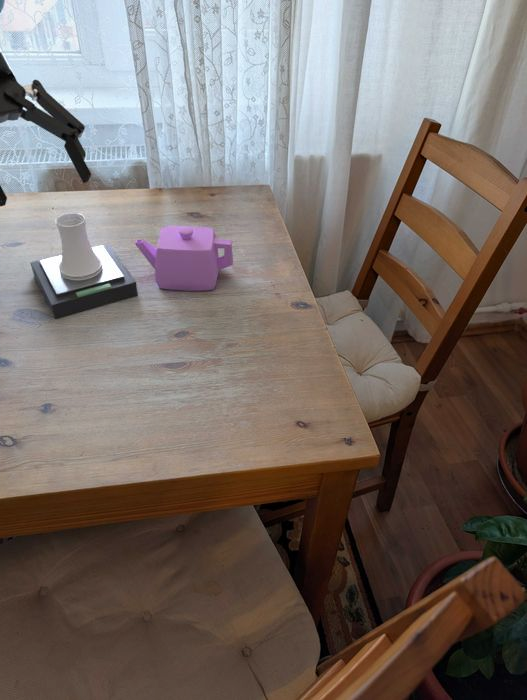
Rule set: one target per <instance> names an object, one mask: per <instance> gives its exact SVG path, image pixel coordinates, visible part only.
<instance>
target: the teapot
mask: <svg viewBox="0 0 527 700" xmlns="http://www.w3.org/2000/svg"><path fill="white" fill-rule="evenodd" d="M134 245H135V247H137V248H138V250H139V251H140V253H141V254H142V255H143V257H145V259H146V260H147V261H148V263H149V264H150V266H151V267H153V269H154V273H155V281H156V284H157V286H158V288H160V289H162V290H172V291H184V292H186V291H187V292H200V291H205V292H206V291H213V290H215V288H216V284H217V282H218V275H219V271H221V270H222V271H223V270H224V269H226V268H229V267H231V266H233V265H234V255H233V244H232V239H225V238H217V237H216V232H215V229H214V228H212V227H208V226H207V227H205V226H197V225H196V226H195V225H194V226H193V225H165V226H162V227H161V230H160V233H159V237H158V241H157V243H156V248H155V247H154V246H153V245H151V244H150V243H149V242H148V241H145V240H144V238H140V239H136V240H135V242H134ZM219 249H223V255H222V256H220V257H219Z"/></svg>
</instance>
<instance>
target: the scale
mask: <svg viewBox="0 0 527 700" xmlns="http://www.w3.org/2000/svg"><path fill="white" fill-rule="evenodd" d="M92 249H93V251H94V253H95V254H96V256H97V257H99V258H100V259H101V261H102V266H103V268H102V271H101V272H100V273H99V274H98V275H96V276H95V277H93V278H90V279H86V280H79V281H76V280H69V279H66V278H64V277H63V276H61V274H60V270H59V264H60V262H61V260H62V254H60V255H55V256H51V257H47V258H43V259H39V260H35V261H31V262H30V266H31V269H32V273H33V277H34V278H35V281H36V282H37V284H38V287H39V288H40V290H41V293H42V295H43V297H44V299H45V301H46V303H47V305H48V307H49V310H50V311H51V313H52V315H53V317H54V319H55V320H56V319H60V318H63V317H64V318H65V317H66V316H71V315H75V314H78V313H81V312H85V311H88V310H92V309H95V308H99V307H102V306H106V305H110V304H112V303H115V302H119V301H122V300H127V299H130V298H133V297H138V296H139V294H138V287H137V282H136V280H135V279H134V277H133V275H132V274H131V273H130V271H129V270H128V269H127V267H126V266H125V265H124V263H123V262H122V260H121V259H120V258H119V256H118V255H117V253H116V252H115V250H114V249H113V248H112V247H111V245H110V243H106V244H101V245H97V246H93V247H92Z"/></svg>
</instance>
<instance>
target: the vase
mask: <svg viewBox="0 0 527 700" xmlns="http://www.w3.org/2000/svg"><path fill="white" fill-rule="evenodd" d="M54 221H55V224H56V226H57V229H58V233H59V236H60V241H61V255H62V260H61V262H60V264H59V270H60V274H61V276H63V277H64V278H66V279H69V280H76V281H79V280H86V279H90V278H93V277H95V276H96V275H98V274H99V273H100V272H101V271H102V268H103V266H102V261H101V259H100V258H99V257H97V256H96V254H95V253H94V251H93V249H92V248H93V247H92V245H91V243H90V240H89V237H88V233H87V227H86V226H87V225H86V217H85V215H84V214H83V213H78V212H68V213H67V212H66V213H64V214H61V215H59V216H57V217H56V218H55V220H54Z"/></svg>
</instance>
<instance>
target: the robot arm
mask: <svg viewBox="0 0 527 700" xmlns="http://www.w3.org/2000/svg"><path fill="white" fill-rule="evenodd" d="M5 1H6V0H0V16H1V15H2V13H3V11H4V8H5ZM26 97H29V98H30V99H31V100H32V101H33V102H35V101H36V103H37V104H38V105H39V106H40V108H39V107H37V106H36V105H35V104H34V103H33V102H32V101H31V100H29V99H28V98H26ZM41 108H42V109H43V110H44V111H43V110H42V109H41ZM19 118H21V119H22V120H23V121H26V122H31V123H33V124H34V125H36V126H38V127H39V128H41V129H43V130H45V132H48V133H50V134H52V135H53V136H55V137H56V138H58V139H60V140H62V141H64V145H63V147H64V149H65V151H66V153H67V156H68V158H69V159H70V161H71V162H72V164H73V166H74V168H75V170H76V172H77V174H78V176H79V178H80V180H81V181H82V183H83V184H86V183H88V182H89V180H90V179H91V176H92V172H91V170H90V169H89V167H88V165H87V163H86V161H85V159H86V157H87V154H86V151H85V149H84V147H83V145H82V143H81V141H80V138H82V136H83V133H84V131H85V128H86V126H85V125H84V124H83V123H82V122H81V121H80V120H79V119H78V118H76V116H74V115H73V114H72V113H71V112H70V111H69V110H68V109H67V108H65V107H64V106H63V105H62V104H61V103H60V102H58V100H57V99H55V98H54V97H53V96H52V95H51V94H49V92H47V90H46V89H45V88H44V86H43V84H42V83H41V81H40V80H38V79H33V80H32V83H31V84H28V85H22V84H21V83H19V82H18V79H17V78H16V75H15V74H14V71H13V69H12V68H11V66H10V64H9V61H8V60H7V58H6V56H5V55H4V53H3V52H2V49H1V48H0V124H2V123H5V122H7V121H11V122H12V121H14V122H15V121H18V120H19ZM7 200H8V196H7V194H6V193H5V191H4V190H3V188H2V186H1V185H0V207H1V208H2V207H5V206H6V205H7V204H6V203H7Z"/></svg>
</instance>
